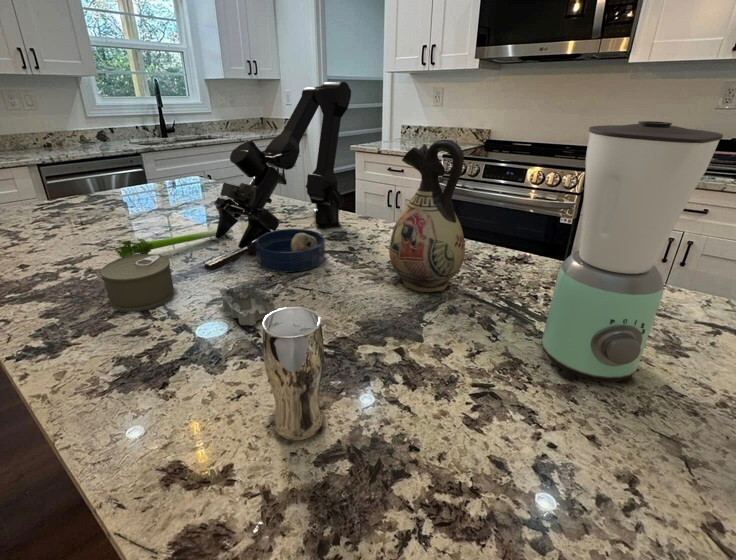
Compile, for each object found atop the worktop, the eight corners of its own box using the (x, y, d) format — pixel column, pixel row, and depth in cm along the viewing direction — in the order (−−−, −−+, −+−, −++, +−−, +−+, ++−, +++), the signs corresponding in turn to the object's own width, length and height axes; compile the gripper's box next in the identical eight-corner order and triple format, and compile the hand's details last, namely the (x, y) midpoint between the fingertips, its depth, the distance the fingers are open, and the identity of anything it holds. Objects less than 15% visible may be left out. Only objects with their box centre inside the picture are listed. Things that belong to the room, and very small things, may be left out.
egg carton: (279, 317, 76) (278, 298, 74) (240, 330, 72) (237, 310, 70) (256, 294, 84) (254, 276, 82) (219, 305, 80) (216, 286, 78)
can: (94, 306, 80) (85, 273, 77) (143, 280, 90) (136, 250, 87) (143, 317, 76) (135, 283, 73) (188, 289, 86) (182, 258, 83)
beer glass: (273, 404, 56) (263, 306, 49) (325, 401, 56) (322, 304, 50) (267, 445, 49) (256, 339, 43) (326, 442, 50) (323, 336, 44)
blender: (662, 401, 56) (773, 130, 42) (561, 396, 57) (635, 129, 43) (597, 326, 74) (659, 116, 59) (520, 323, 74) (562, 115, 60)
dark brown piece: (246, 237, 104) (201, 258, 95) (255, 241, 102) (210, 261, 93) (249, 250, 106) (205, 270, 97) (257, 253, 104) (213, 274, 95)
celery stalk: (237, 243, 115) (122, 268, 94) (223, 240, 119) (111, 264, 98) (234, 221, 113) (117, 241, 92) (220, 219, 118) (105, 238, 96)
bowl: (318, 244, 110) (317, 226, 108) (331, 269, 95) (330, 249, 93) (255, 250, 106) (253, 231, 104) (259, 276, 92) (257, 255, 90)
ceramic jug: (372, 284, 88) (376, 137, 76) (414, 263, 99) (424, 130, 86) (441, 312, 78) (459, 146, 65) (480, 285, 88) (502, 138, 76)
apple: (277, 242, 98) (287, 232, 93) (305, 235, 102) (316, 226, 98) (286, 265, 97) (297, 257, 92) (314, 258, 102) (325, 249, 97)
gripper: (216, 163, 101) (181, 217, 98) (265, 174, 91) (228, 235, 87) (245, 189, 110) (214, 240, 107) (293, 202, 99) (261, 258, 96)
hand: (228, 242), depth 99 cm, fingers open, 9 cm apart
